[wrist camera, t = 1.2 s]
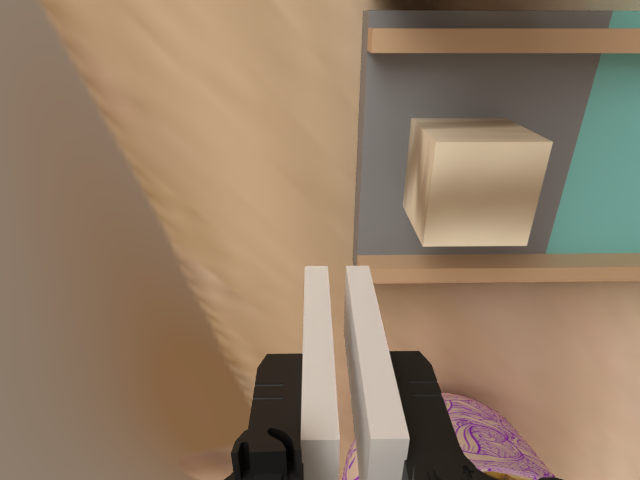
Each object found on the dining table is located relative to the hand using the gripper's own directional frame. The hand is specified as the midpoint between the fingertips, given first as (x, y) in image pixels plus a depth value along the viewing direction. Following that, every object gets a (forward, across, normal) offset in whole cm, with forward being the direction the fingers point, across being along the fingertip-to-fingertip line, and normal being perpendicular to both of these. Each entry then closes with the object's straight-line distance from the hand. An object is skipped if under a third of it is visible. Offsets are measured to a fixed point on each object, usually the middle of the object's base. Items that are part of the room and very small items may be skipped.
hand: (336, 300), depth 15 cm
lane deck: (+18, +18, 0) cm, 26 cm away
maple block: (+15, +8, 0) cm, 18 cm away
